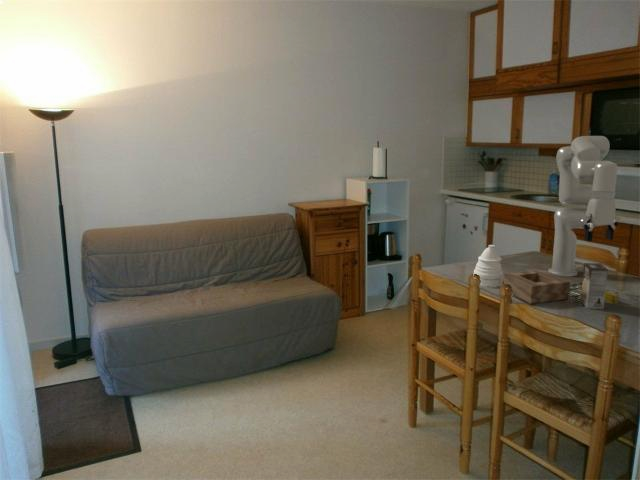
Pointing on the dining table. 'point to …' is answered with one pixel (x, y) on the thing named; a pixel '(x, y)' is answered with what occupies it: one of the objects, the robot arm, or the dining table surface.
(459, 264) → the dining table surface
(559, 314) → the dining table surface
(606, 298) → the medication box
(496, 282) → the honey pot
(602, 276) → the coffee box
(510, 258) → the dining table surface
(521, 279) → the well block
